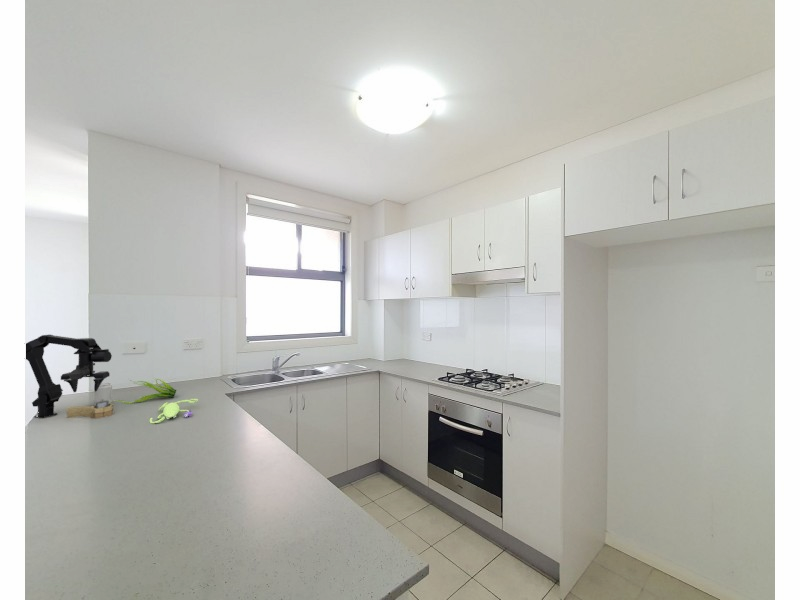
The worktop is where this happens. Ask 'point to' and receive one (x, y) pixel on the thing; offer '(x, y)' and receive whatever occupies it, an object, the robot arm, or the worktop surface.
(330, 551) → the worktop surface
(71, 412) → the hinge
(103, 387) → the can
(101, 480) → the worktop surface
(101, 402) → the hinge pin
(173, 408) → the figurine
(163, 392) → the decorative plant
